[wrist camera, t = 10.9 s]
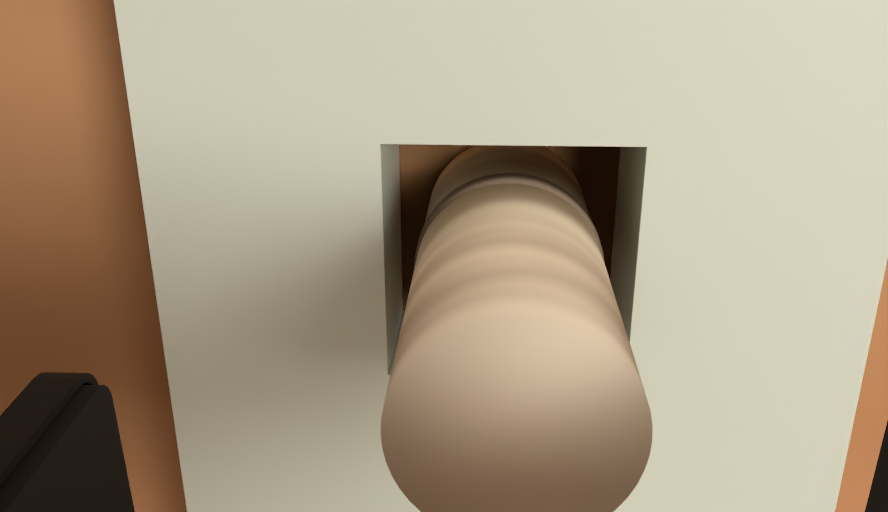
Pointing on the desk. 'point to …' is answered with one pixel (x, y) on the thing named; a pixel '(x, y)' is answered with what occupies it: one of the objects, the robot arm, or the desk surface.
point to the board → (518, 124)
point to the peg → (513, 349)
